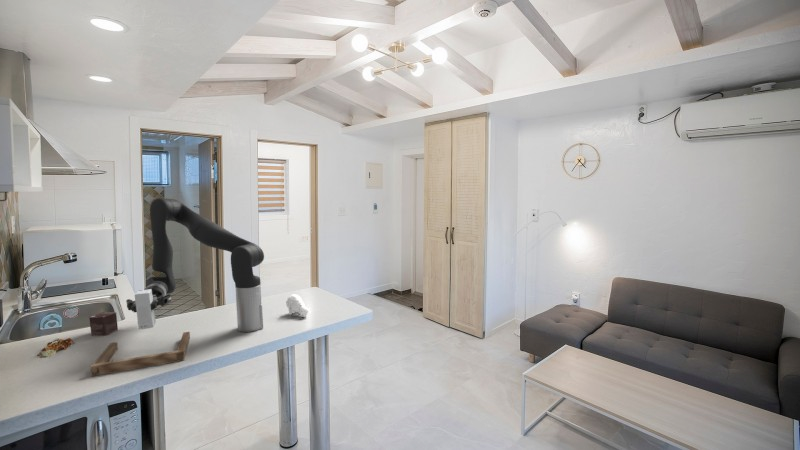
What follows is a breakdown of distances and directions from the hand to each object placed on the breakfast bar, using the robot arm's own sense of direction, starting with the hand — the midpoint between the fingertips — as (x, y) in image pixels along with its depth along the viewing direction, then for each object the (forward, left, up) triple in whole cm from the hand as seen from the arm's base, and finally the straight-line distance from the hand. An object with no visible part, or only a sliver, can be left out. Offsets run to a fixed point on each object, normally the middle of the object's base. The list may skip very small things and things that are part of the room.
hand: (143, 308), depth 125 cm
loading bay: (0, +1, -16) cm, 16 cm away
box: (+19, -30, -16) cm, 39 cm away
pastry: (+30, -18, -16) cm, 39 cm away
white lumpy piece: (-53, -17, -16) cm, 58 cm away
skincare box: (0, -3, -7) cm, 8 cm away
